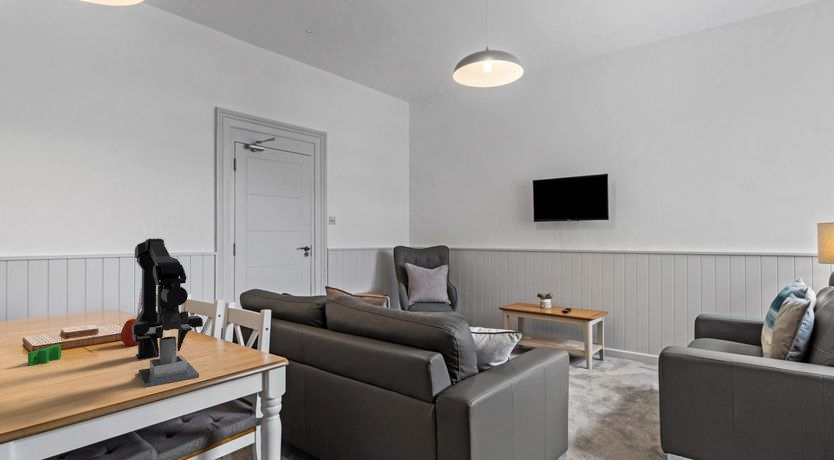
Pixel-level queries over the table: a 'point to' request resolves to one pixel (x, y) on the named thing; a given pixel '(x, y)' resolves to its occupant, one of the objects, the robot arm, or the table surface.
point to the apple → (128, 333)
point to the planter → (167, 350)
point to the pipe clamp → (44, 355)
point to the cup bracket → (167, 372)
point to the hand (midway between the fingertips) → (168, 352)
